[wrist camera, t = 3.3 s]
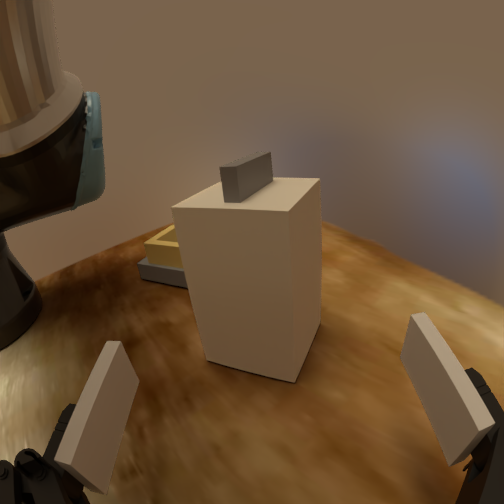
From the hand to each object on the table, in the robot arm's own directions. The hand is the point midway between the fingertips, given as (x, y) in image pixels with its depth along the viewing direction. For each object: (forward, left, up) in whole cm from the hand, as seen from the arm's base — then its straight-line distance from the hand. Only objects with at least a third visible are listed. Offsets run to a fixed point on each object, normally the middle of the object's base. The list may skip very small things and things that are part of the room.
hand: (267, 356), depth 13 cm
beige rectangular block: (-4, +8, -7) cm, 11 cm away
